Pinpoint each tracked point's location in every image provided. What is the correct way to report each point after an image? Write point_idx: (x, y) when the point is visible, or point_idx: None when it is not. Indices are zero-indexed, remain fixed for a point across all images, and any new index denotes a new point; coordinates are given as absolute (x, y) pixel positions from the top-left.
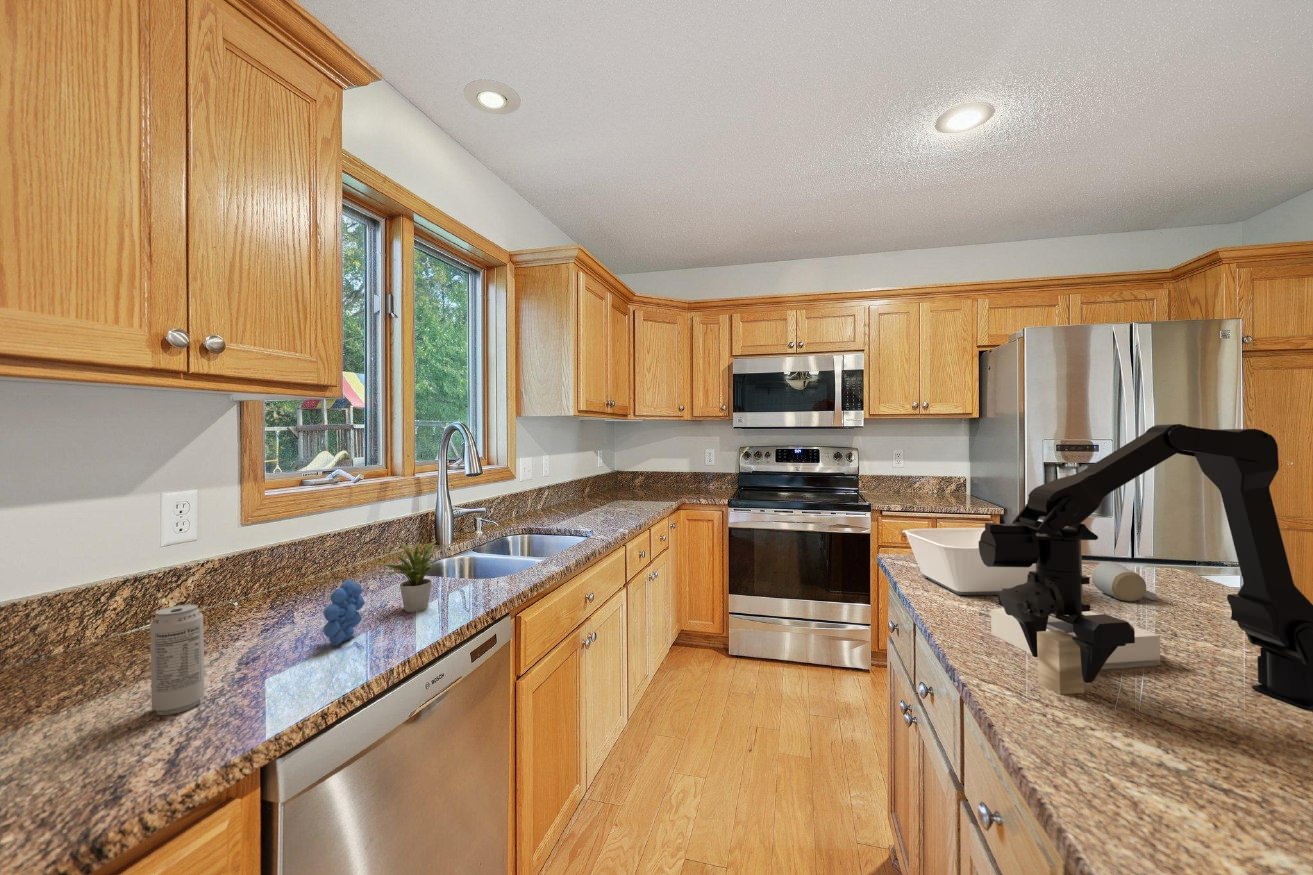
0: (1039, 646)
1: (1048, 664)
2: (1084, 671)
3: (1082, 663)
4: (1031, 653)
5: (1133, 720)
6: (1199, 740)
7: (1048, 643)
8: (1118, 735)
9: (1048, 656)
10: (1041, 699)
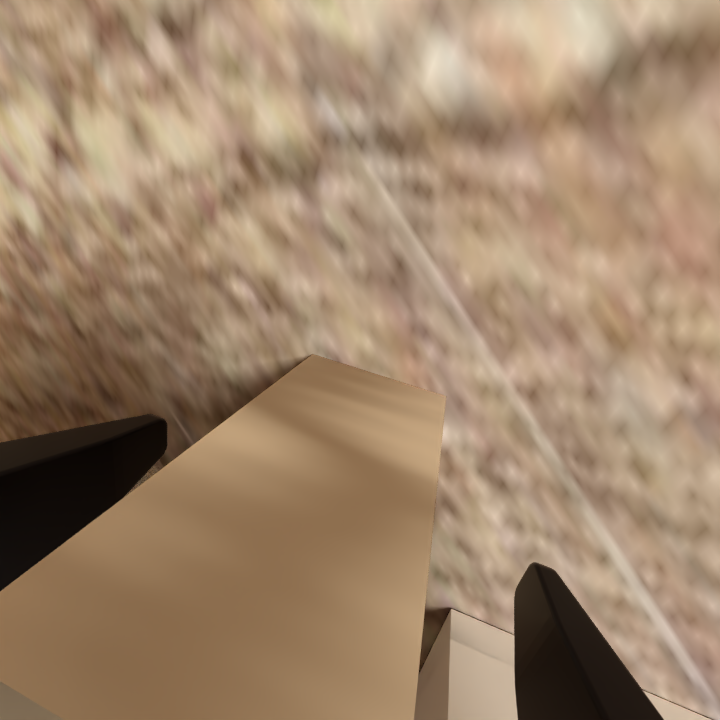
0: (394, 583)
1: (328, 441)
2: (77, 436)
3: (5, 459)
4: (690, 714)
5: (103, 376)
6: (10, 407)
7: (214, 613)
8: (20, 204)
9: (300, 484)
10: (303, 205)
